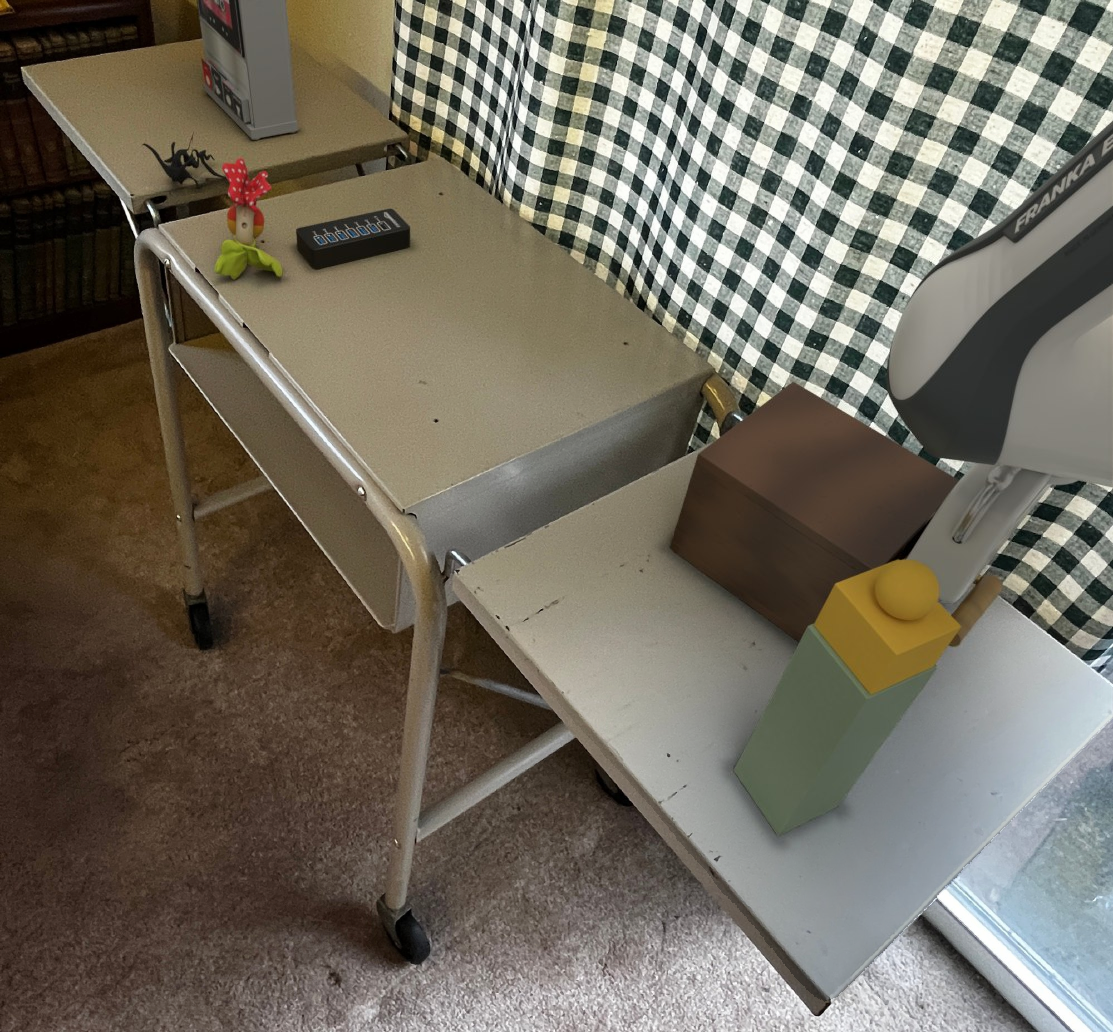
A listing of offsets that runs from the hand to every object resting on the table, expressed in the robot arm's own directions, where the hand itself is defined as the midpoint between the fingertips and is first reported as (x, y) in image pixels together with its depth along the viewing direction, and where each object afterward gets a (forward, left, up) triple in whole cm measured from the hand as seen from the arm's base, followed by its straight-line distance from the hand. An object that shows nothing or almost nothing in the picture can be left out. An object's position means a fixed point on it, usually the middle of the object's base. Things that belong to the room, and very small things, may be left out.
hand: (959, 559), depth 65 cm
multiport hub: (+63, +21, -10) cm, 67 cm away
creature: (+81, +33, -10) cm, 88 cm away
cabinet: (+10, +4, -9) cm, 14 cm away
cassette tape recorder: (+95, +23, -10) cm, 98 cm away
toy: (-6, +16, +7) cm, 18 cm away
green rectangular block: (-6, +16, -9) cm, 20 cm away
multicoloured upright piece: (+63, +32, -10) cm, 71 cm away
